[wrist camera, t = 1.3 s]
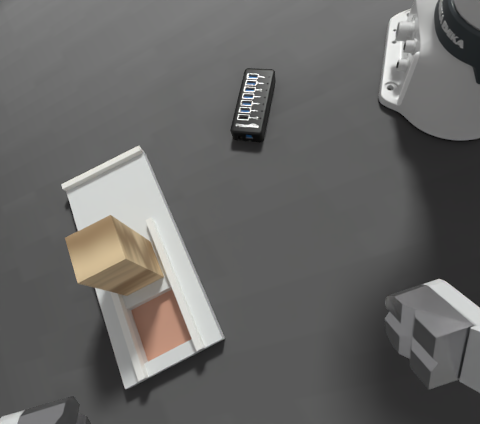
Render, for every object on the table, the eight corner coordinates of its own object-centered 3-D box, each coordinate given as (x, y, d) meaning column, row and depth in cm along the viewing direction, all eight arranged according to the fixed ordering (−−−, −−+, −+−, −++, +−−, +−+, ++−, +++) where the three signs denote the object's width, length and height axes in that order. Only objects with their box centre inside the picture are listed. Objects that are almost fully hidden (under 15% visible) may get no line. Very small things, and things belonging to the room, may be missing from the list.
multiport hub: (276, 80, 51) (275, 69, 49) (263, 143, 48) (261, 134, 46) (247, 78, 52) (245, 67, 50) (232, 141, 49) (229, 131, 47)
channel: (225, 338, 39) (220, 338, 37) (131, 387, 39) (120, 390, 37) (145, 153, 50) (138, 144, 47) (71, 191, 50) (60, 183, 47)
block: (164, 276, 41) (125, 258, 32) (126, 295, 41) (77, 283, 32) (150, 241, 43) (110, 214, 34) (114, 259, 43) (65, 237, 34)
